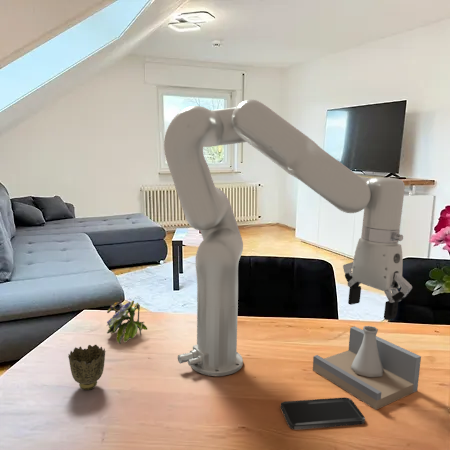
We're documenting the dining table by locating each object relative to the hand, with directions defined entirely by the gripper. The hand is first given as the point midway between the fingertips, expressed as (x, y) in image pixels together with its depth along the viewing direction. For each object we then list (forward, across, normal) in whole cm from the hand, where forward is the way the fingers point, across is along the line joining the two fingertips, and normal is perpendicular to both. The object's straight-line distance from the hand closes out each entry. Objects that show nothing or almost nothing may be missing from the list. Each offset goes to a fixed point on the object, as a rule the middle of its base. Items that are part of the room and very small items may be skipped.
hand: (370, 310), depth 94 cm
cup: (+18, +27, +55) cm, 64 cm away
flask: (+14, -1, 0) cm, 14 cm away
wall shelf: (+16, -1, +2) cm, 16 cm away
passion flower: (+18, +48, +39) cm, 64 cm away
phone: (+17, -5, +18) cm, 25 cm away
